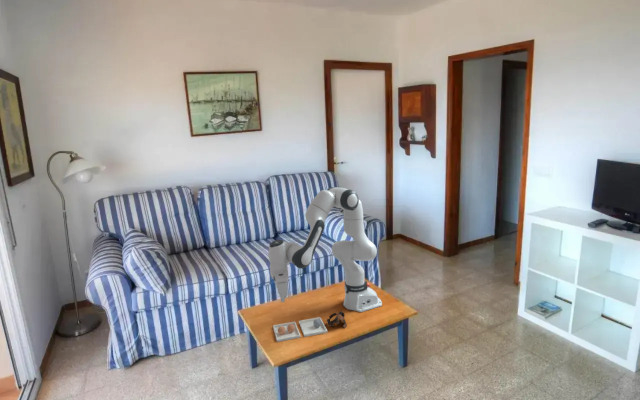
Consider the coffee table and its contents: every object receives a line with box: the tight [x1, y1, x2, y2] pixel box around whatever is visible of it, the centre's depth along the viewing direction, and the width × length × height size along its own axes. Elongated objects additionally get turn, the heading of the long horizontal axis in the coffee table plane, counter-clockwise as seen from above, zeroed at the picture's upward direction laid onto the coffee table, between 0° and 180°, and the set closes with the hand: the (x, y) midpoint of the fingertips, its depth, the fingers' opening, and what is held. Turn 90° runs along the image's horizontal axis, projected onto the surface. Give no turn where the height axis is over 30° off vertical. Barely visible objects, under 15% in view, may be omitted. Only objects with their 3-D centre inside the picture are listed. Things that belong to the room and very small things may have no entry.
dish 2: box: [298, 316, 328, 338], centre depth 203 cm, size 12×14×2 cm
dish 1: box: [272, 321, 302, 343], centre depth 200 cm, size 12×14×2 cm
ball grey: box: [313, 319, 321, 327], centre depth 203 cm, size 4×4×4 cm
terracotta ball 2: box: [287, 324, 295, 332], centre depth 200 cm, size 4×4×4 cm
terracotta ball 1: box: [278, 326, 286, 334], centre depth 198 cm, size 4×4×4 cm
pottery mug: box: [326, 310, 348, 329], centre depth 205 cm, size 12×10×8 cm
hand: (281, 297), depth 197 cm, fingers open, 8 cm apart
